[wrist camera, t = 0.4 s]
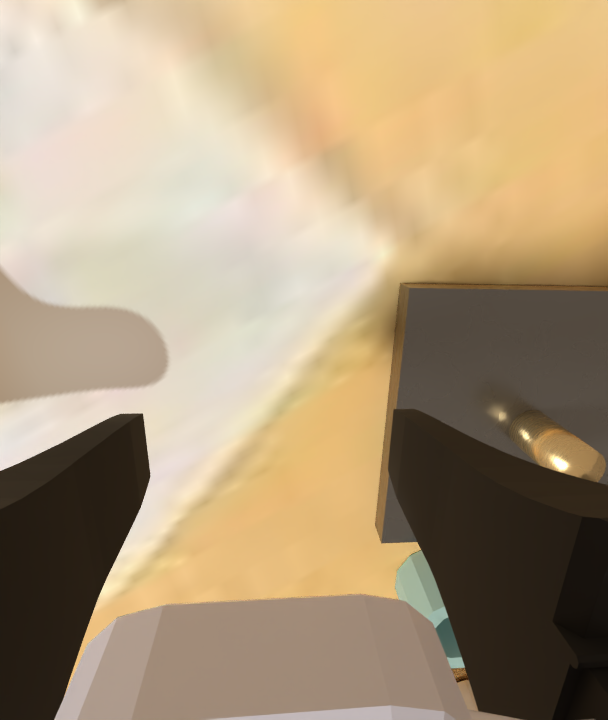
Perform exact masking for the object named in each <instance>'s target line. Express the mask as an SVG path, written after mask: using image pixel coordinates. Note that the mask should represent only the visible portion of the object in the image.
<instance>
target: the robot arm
mask: <svg viewBox="0 0 608 720" xmlns="http://www.w3.org/2000/svg"><path fill="white" fill-rule="evenodd" d="M388 472H389V475H390V479H391V482H392V485H393V488H394V491H395V495H396V498H397V500H398V502H399V504H400V506H401V509H402V511H403V513H404V515H405V517H406V519H407V521H408V523H409V525H410V527H411V530H412V532H413V534H414V536H415V538H416V540H417V542H418V544H419V546H420V548H421V550H422V552H423V554H424V556H425V558H426V561H427V563H428V565H429V567H430V569H431V572H432V574H433V576H434V579H435V581H436V584H437V587H438V590H439V592H440V595H441V598H442V601H443V604H444V606H445V609H446V612H447V615H448V618H449V621H450V624H451V627H452V630H453V633H454V636H455V639H456V641H457V644H458V647H459V650H460V653H461V656H462V660H463V663H464V666H465V669H466V673H467V676H468V679H469V682H470V686H471V689H472V692H473V695H474V698H475V702H476V705H477V708H478V711H474V710H469V709H467V706H466V704H465V701H464V699H463V696H462V694H461V691H460V689H459V686H458V684H457V682H456V679H455V677H454V674H453V672H452V669H451V667H450V664H449V662H448V659H447V657H446V654H445V652H444V649H443V647H442V644H441V642H440V640H439V637H438V635H437V632H436V630H435V627H434V625H433V623H432V622H431V621H430V620H428V619H427V618H426V617H424V616H423V615H422V614H421V613H419V612H418V611H417V610H416V609H414V608H413V607H412V606H411V605H409V604H408V603H407V602H406V601H402V600H397V599H391V598H384V597H378V596H372V595H365V594H348V595H329V596H311V597H292V598H273V599H255V600H236V601H217V602H199V603H180V604H166V605H162V606H158V607H154V608H150V609H146V610H142V611H138V612H135V613H131V614H127V615H123V616H120V617H117V618H116V619H115V620H114V621H113V622H112V623H110V624H109V625H108V626H107V627H106V628H105V629H104V630H103V631H101V632H100V633H99V634H98V635H97V636H96V637H95V638H94V639H92V640H91V641H90V642H89V643H88V644H87V646H86V648H85V651H84V653H83V655H82V657H81V660H80V662H79V664H78V667H77V669H76V671H75V673H74V676H73V678H72V680H71V683H70V685H69V687H68V689H67V692H66V688H67V685H68V682H69V679H70V676H71V673H72V670H73V667H74V665H75V662H76V659H77V656H78V653H79V650H80V647H81V644H82V641H83V638H84V635H85V632H86V630H87V627H88V624H89V621H90V619H91V616H92V613H93V610H94V608H95V605H96V602H97V599H98V597H99V594H100V592H101V590H102V588H103V585H104V583H105V581H106V578H107V576H108V574H109V572H110V570H111V568H112V566H113V564H114V562H115V560H116V558H117V556H118V554H119V552H120V550H121V548H122V545H123V543H124V541H125V539H126V537H127V535H128V533H129V531H130V529H131V527H132V525H133V523H134V521H135V518H136V516H137V514H138V512H139V510H140V508H141V505H142V502H143V499H144V496H145V493H146V489H147V486H148V483H149V479H150V469H149V460H148V452H147V444H146V436H145V427H144V419H143V414H119V415H116V416H114V417H111V418H109V419H107V420H105V421H103V422H101V423H99V424H97V425H95V426H93V427H91V428H89V429H87V430H85V431H84V432H82V433H80V434H78V435H76V436H74V437H72V438H70V439H68V440H66V441H64V442H63V443H61V444H58V445H56V446H54V447H52V448H50V449H48V450H46V451H44V452H42V453H40V454H38V455H36V456H34V457H31V458H29V459H27V460H25V461H23V462H21V463H18V464H16V465H14V466H11V467H9V468H7V469H4V470H2V471H0V720H608V485H606V484H602V483H598V482H594V481H590V480H586V479H582V478H579V477H575V476H572V475H568V474H565V473H562V472H558V471H555V470H552V469H549V468H545V467H542V466H539V465H537V464H534V463H531V462H528V461H526V460H523V459H520V458H518V457H515V456H512V455H510V454H508V453H505V452H503V451H500V450H498V449H496V448H494V447H492V446H489V445H487V444H485V443H483V442H481V441H478V440H476V439H474V438H472V437H470V436H468V435H466V434H464V433H462V432H460V431H458V430H457V429H455V428H453V427H451V426H449V425H447V424H445V423H443V422H441V421H439V420H437V419H436V418H434V417H432V416H430V415H428V414H426V413H423V412H421V411H419V410H416V409H394V410H393V420H392V430H391V441H390V451H389V461H388ZM65 692H66V694H65ZM64 695H65V696H64Z"/></svg>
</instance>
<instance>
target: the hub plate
mask: <svg viewBox="0 0 608 720" xmlns="http://www.w3.org/2000/svg"><path fill="white" fill-rule="evenodd" d="M394 409H416V410H419V411H421V412H423V413H426V414H428V415H430V416H432V417H434V418H436V419H437V420H439V421H441V422H443V423H445V424H447V425H449V426H451V427H453V428H455V429H457V430H458V431H460V432H462V433H464V434H466V435H468V436H470V437H472V438H474V439H476V440H478V441H481V442H483V443H485V444H487V445H489V446H492V447H494V448H496V449H498V450H500V451H503V452H505V453H508V454H510V455H512V456H515V457H518V458H520V459H523V460H526V461H528V462H531V463H534V464H537V465H539V466H542V467H545V468H549V469H552V470H555V471H558V472H562V473H565V474H568V475H572V476H575V477H579V478H582V479H586V480H590V481H594V482H598V483H602V484H606V485H608V287H593V286H532V285H471V284H410V283H400V289H399V298H398V308H397V318H396V327H395V337H394V347H393V357H392V366H391V376H390V386H389V396H388V405H387V415H386V425H385V434H384V444H383V454H382V464H381V473H380V483H379V493H378V503H377V512H376V522H375V526H376V529H377V532H378V535H379V538H380V541H381V543H400V542H417V540H416V538H415V536H414V534H413V532H412V530H411V527H410V525H409V523H408V521H407V519H406V517H405V515H404V513H403V511H402V509H401V506H400V504H399V502H398V500H397V498H396V495H395V491H394V488H393V485H392V482H391V479H390V475H389V472H388V461H389V451H390V441H391V430H392V420H393V410H394Z"/></svg>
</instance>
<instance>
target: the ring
mask: <svg viewBox="0 0 608 720" xmlns="http://www.w3.org/2000/svg"><path fill="white" fill-rule="evenodd" d="M395 589H396V592H397V595H398V598H399V600H402V601H406V602H407V603H408V604H409V605H411V606H412V607H413V608H414V609H416V610H417V611H418V612H419V613H421V614H422V615H423V616H424V617H426V618H427V619H428V620H430V621H431V622H432V623H433V625H434V627H435V630H436V632H437V635H438V637H439V640H440V642H441V644H442V647H443V649H444V652H445V654H446V657H447V659H448V662H449V664H450V667H451V668H465V666H464V663H463V660H462V656H461V653H460V650H459V647H458V644H457V641H456V639H455V636H454V633H453V630H452V627H451V624H450V621H449V618H448V615H447V612H446V609H445V606H444V604H443V601H442V598H441V595H440V592H439V590H438V587H437V584H436V581H435V579H434V576H433V574H432V572H431V569H430V567H429V565H428V563H427V561H426V558H425V556H424V554H423V552H422V550H420V551H418V552H416V553H414V554H412V555H410V556H409V557H408V558H407V560H406V561H405V562H404V563H403V565H402V566H401V567H400V568H399V569H398V571H397V576H396V584H395Z"/></svg>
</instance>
